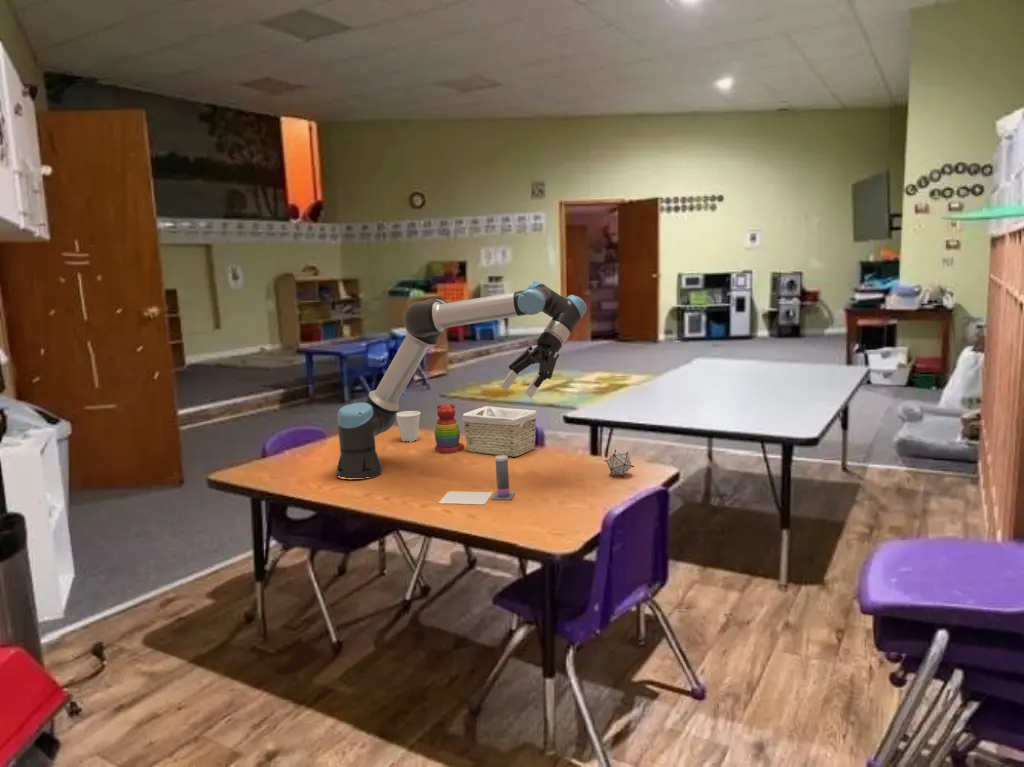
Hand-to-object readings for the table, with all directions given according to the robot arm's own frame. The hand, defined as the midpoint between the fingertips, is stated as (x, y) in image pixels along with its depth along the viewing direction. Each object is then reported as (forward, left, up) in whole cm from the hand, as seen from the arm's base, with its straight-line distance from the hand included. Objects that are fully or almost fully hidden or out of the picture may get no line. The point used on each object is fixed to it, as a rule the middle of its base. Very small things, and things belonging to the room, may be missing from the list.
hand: (515, 391), depth 231 cm
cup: (-54, +54, -30) cm, 82 cm away
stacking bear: (-34, +40, -30) cm, 60 cm away
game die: (+31, +12, -30) cm, 44 cm away
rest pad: (-2, -12, -30) cm, 32 cm away
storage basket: (-14, +41, -30) cm, 53 cm away
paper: (-13, -14, -30) cm, 36 cm away
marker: (-2, -12, -29) cm, 32 cm away
